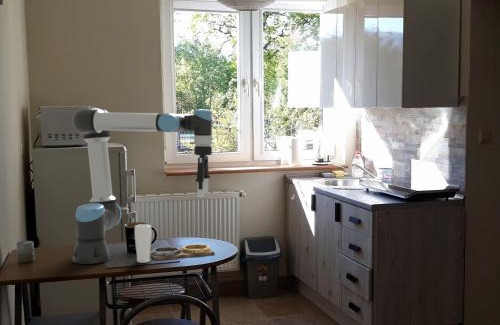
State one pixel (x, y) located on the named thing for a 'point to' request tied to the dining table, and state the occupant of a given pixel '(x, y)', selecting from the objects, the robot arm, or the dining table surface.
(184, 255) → the walnut board
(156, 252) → the near collar
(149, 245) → the drinking glass
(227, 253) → the dining table surface
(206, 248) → the far collar
